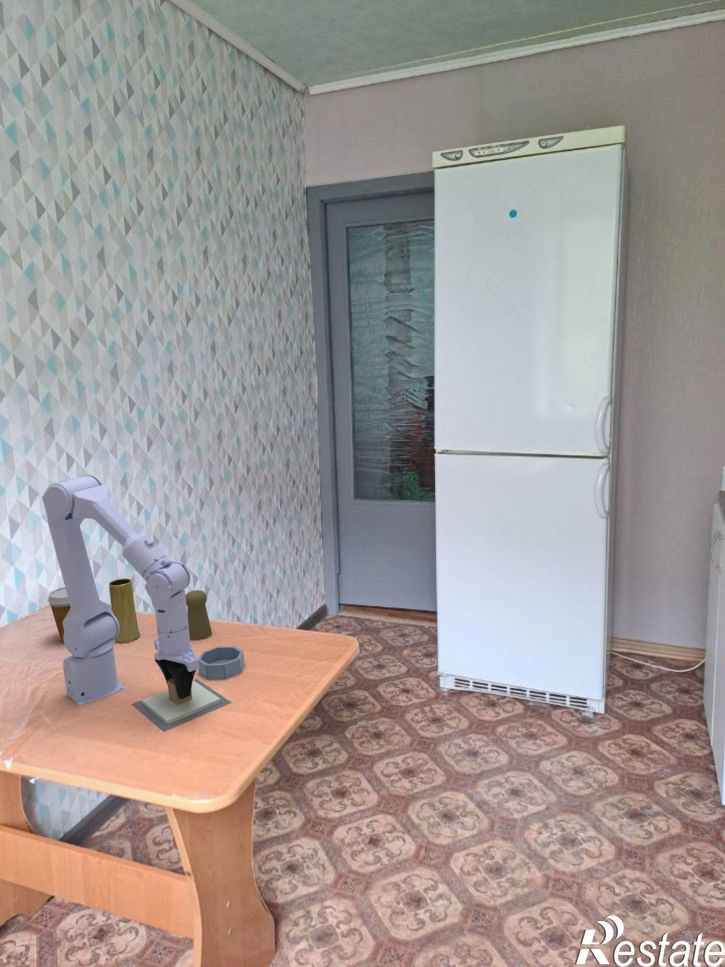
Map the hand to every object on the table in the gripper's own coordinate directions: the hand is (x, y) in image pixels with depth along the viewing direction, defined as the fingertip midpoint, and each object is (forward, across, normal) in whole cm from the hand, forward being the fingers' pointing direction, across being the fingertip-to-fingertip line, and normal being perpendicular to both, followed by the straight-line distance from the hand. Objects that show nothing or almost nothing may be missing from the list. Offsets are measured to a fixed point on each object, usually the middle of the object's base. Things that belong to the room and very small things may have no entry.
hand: (180, 693), depth 130 cm
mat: (+2, 0, 0) cm, 2 cm away
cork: (+3, -28, +19) cm, 34 cm away
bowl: (+2, -7, +13) cm, 15 cm away
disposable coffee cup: (+3, -50, -3) cm, 50 cm away
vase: (+3, -40, +6) cm, 41 cm away
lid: (+2, 0, 0) cm, 2 cm away
